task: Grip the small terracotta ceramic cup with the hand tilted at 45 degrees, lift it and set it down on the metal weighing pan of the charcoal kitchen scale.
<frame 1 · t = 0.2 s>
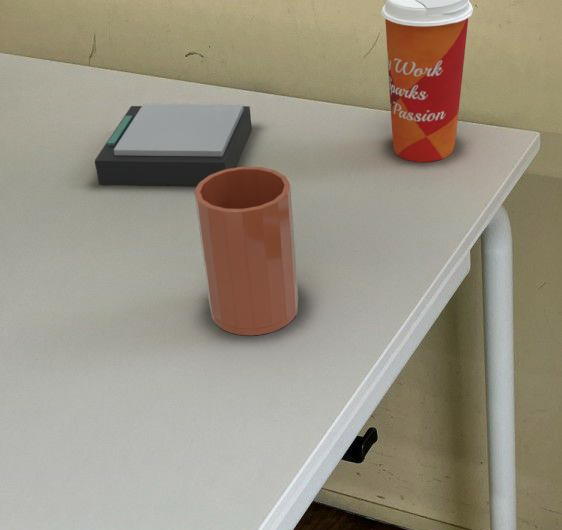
scale: (178, 155, 95), on the table
cup: (254, 310, 74), on the table
paper cup: (424, 150, 93), on the table
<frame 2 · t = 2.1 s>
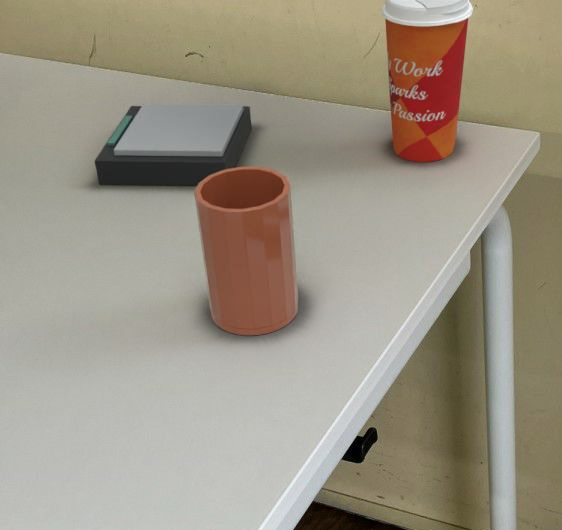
nothing on the table moved.
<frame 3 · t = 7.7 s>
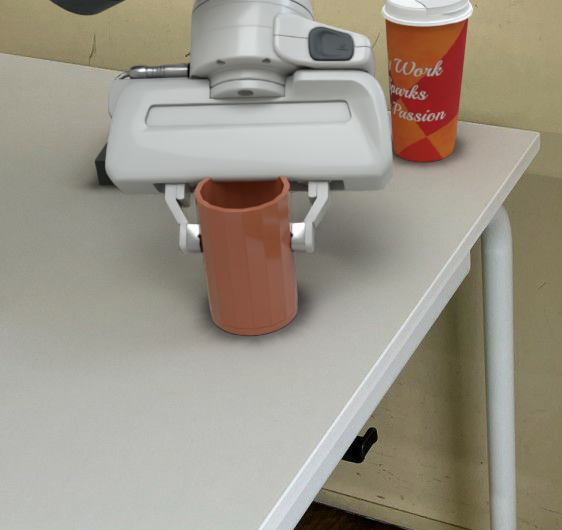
hand: (247, 251, 70), 5 cm above the table, tool tilted 45°, fingers closed on cup, 6 cm apart
cup: (254, 310, 74), on the table, touching gripper
everything else where it was.
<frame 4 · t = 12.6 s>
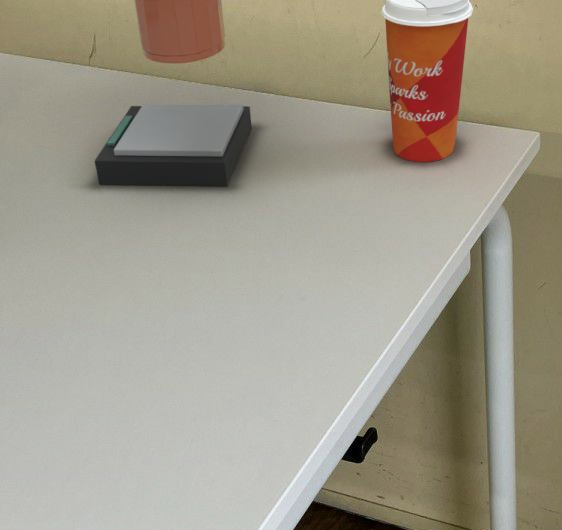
cup: (184, 48, 78), point 14 cm above the table, touching gripper
everything else where it was.
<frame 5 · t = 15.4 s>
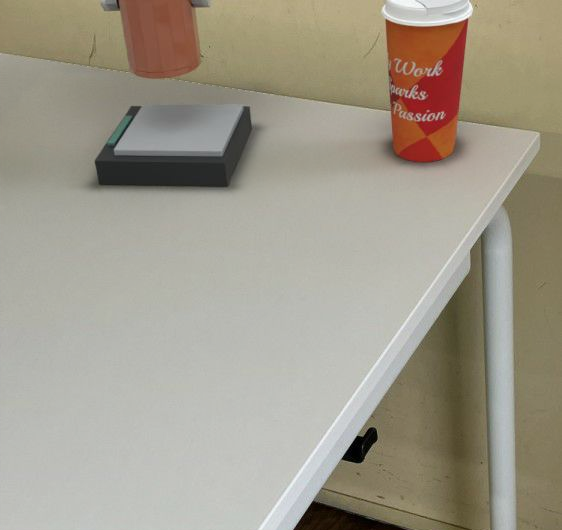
hand: (155, 6, 86), 14 cm above the table, tool tilted 45°, fingers closed on cup, 6 cm apart
cup: (165, 65, 90), point 9 cm above the table, touching gripper
everything else where it was.
when the fingers open (8 cm above the table, at t = 17.7 s): cup stays where it is, resting on scale.
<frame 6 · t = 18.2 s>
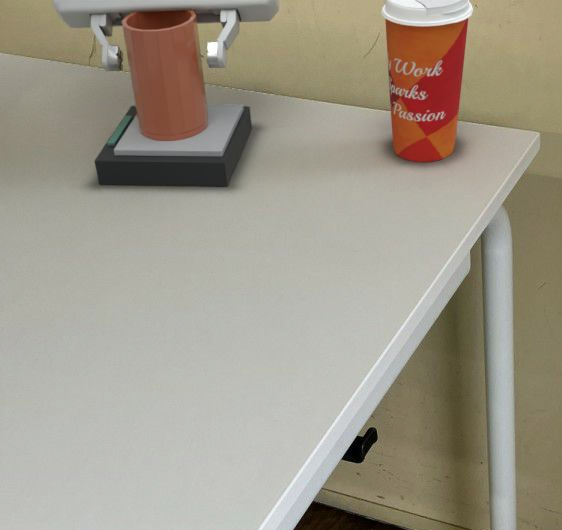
hand: (163, 67, 89), 9 cm above the table, tool tilted 45°, fingers open, 8 cm apart
cup: (174, 126, 94), point 3 cm above the table, touching scale
everything else where it was.
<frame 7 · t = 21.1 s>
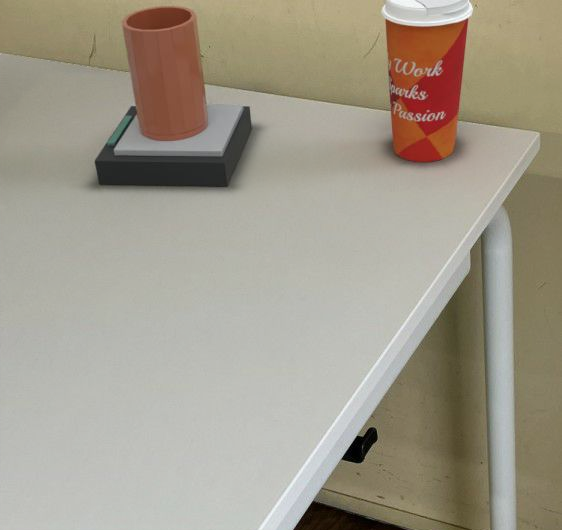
nothing on the table moved.
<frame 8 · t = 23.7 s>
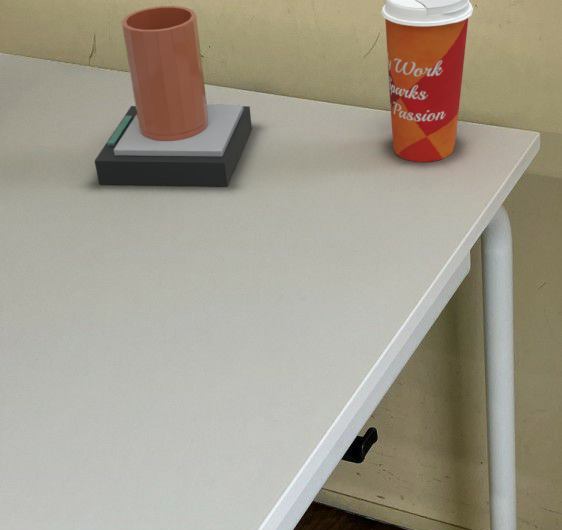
nothing on the table moved.
at the end: cup inside the target area on the scale (0.5 cm from its centre), point 3.0 cm above the scale's base; cup tilted 0°; the gripper is holding nothing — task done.
